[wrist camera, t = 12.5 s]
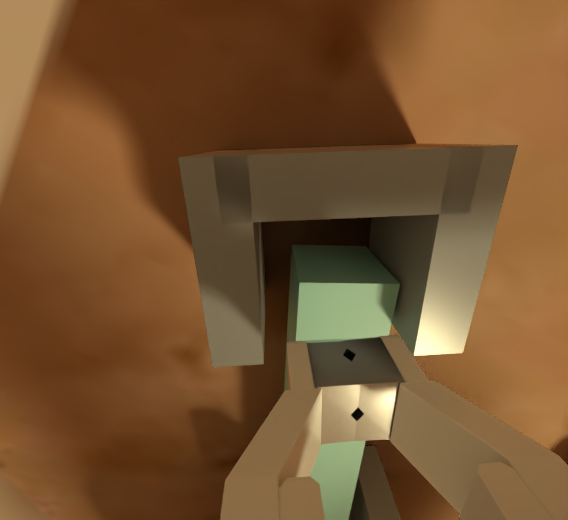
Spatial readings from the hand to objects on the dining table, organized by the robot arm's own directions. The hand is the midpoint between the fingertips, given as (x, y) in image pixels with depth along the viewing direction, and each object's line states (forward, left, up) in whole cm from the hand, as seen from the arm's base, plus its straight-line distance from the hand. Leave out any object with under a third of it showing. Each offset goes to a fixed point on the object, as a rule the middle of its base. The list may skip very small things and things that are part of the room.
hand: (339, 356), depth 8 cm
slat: (-7, 0, -6) cm, 9 cm away
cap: (+2, 0, -6) cm, 6 cm away
